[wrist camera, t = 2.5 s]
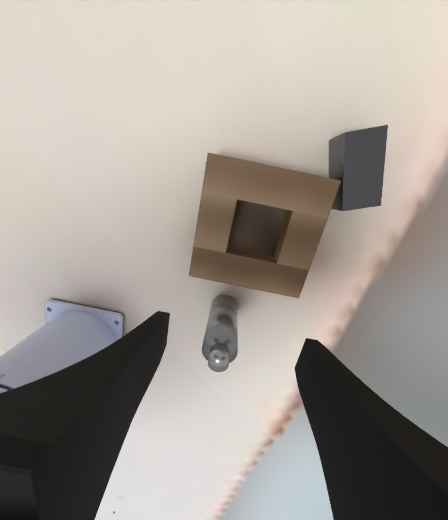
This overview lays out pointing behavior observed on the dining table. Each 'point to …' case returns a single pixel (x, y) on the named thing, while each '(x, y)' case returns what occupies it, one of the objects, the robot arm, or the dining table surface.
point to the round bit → (221, 334)
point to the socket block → (259, 224)
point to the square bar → (358, 167)
